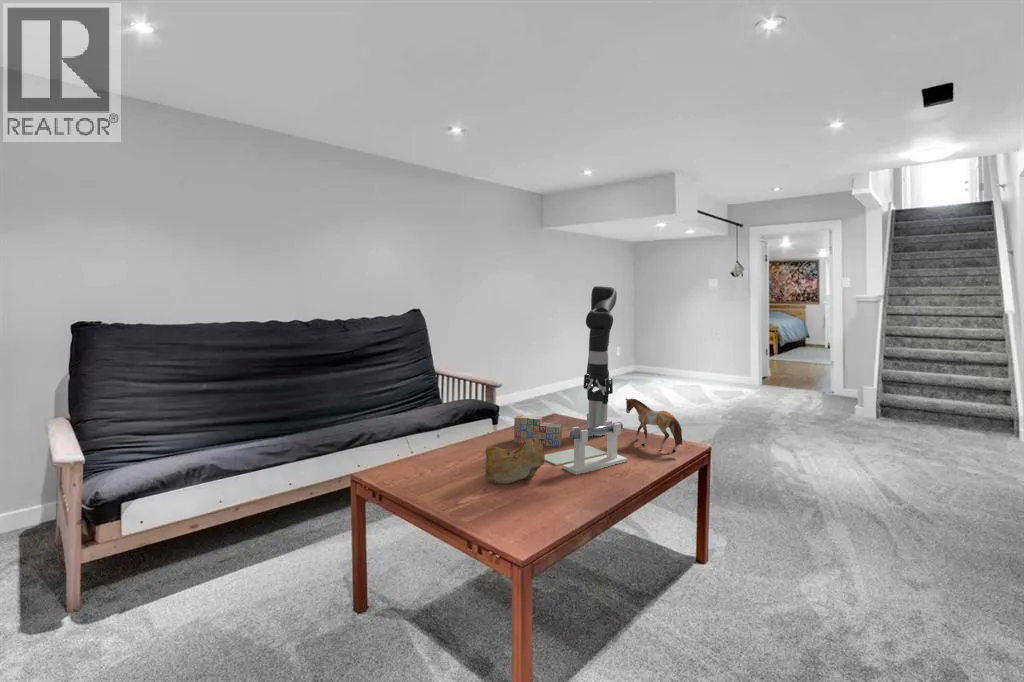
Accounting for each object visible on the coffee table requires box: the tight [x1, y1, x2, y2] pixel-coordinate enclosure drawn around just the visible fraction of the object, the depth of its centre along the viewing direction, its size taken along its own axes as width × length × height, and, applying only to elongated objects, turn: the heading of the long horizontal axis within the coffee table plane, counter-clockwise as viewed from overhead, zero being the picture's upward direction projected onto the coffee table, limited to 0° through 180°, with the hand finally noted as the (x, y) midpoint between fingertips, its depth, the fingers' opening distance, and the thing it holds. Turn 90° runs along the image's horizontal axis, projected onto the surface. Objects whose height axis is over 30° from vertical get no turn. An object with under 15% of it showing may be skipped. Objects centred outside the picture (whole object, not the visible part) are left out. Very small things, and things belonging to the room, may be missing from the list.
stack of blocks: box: [513, 413, 563, 448], centre depth 239 cm, size 21×6×12 cm, turn 72°
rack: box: [562, 420, 628, 476], centre depth 209 cm, size 8×28×16 cm, turn 124°
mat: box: [544, 445, 607, 467], centre depth 222 cm, size 12×28×1 cm, turn 124°
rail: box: [569, 421, 624, 440], centre depth 208 cm, size 26×3×3 cm, turn 124°
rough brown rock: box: [485, 438, 545, 485], centre depth 196 cm, size 23×17×15 cm
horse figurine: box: [624, 398, 683, 451], centre depth 234 cm, size 31×8×21 cm, turn 39°
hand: (597, 402), depth 207 cm, fingers open, 8 cm apart
